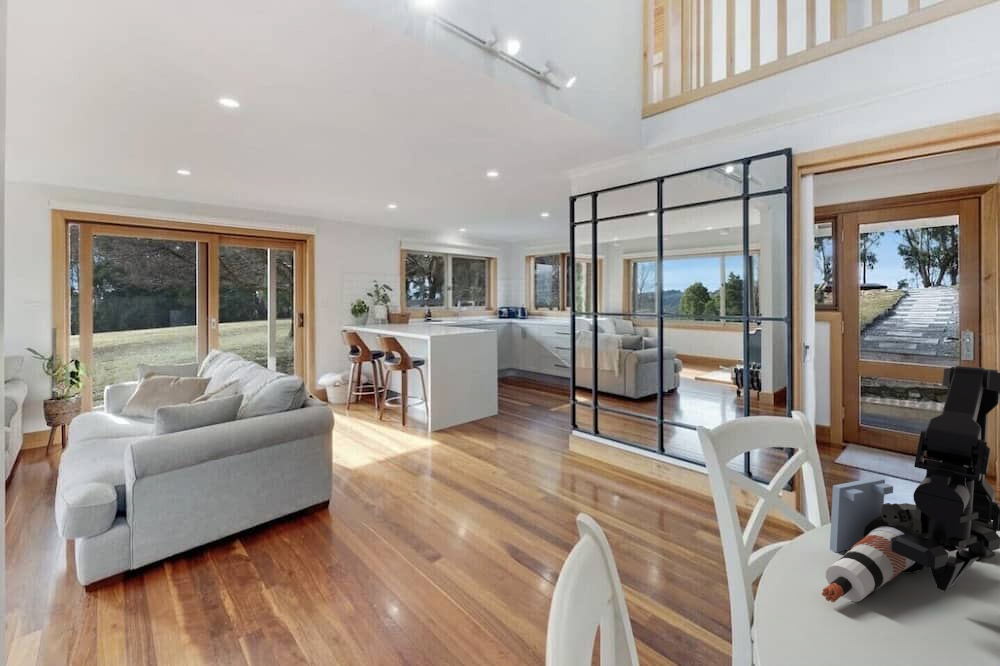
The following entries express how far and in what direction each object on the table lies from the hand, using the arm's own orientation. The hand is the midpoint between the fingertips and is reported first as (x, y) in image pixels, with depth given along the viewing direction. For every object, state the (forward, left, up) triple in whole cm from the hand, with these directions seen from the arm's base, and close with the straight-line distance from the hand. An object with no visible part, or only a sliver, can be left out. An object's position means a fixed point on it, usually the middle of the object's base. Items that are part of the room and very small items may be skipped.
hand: (942, 589), depth 78 cm
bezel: (-8, -18, -3) cm, 20 cm away
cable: (+1, -9, -4) cm, 10 cm away
